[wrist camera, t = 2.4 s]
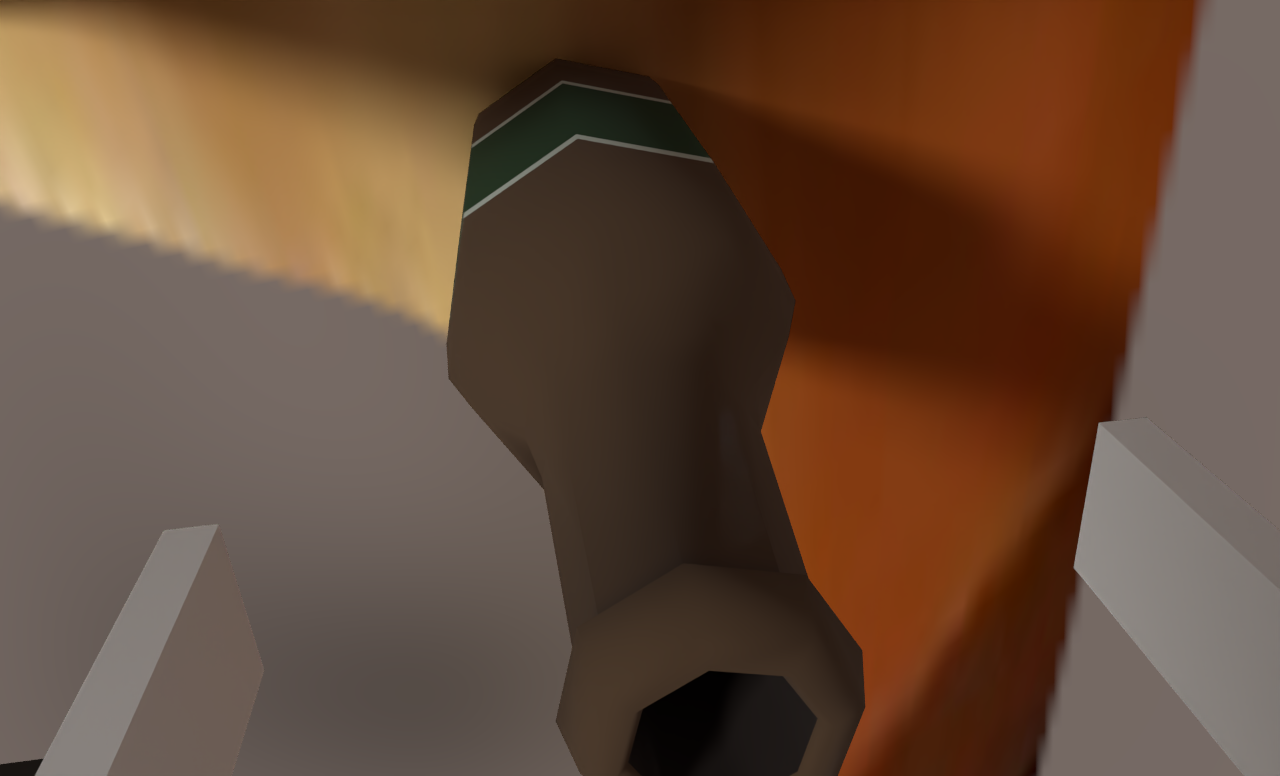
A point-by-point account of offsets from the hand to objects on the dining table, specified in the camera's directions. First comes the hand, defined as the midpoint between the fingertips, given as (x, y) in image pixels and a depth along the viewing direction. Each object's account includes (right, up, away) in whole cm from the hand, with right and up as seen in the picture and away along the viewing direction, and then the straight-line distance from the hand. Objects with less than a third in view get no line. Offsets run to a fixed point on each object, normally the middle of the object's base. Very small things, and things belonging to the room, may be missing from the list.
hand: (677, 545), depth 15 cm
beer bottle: (-3, +9, +17) cm, 20 cm away
